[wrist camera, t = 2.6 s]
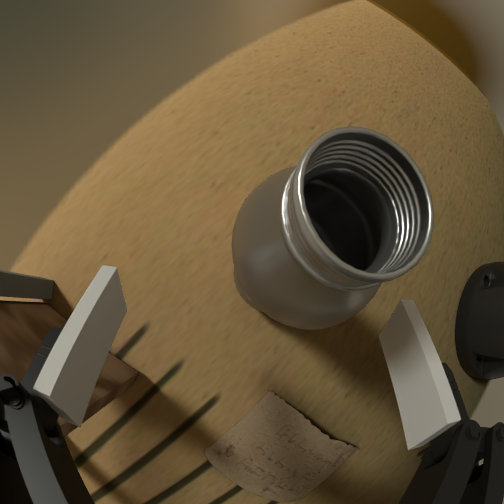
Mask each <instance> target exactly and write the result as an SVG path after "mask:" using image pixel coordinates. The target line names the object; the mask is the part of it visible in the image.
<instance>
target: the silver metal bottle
mask: <svg viewBox="0 0 504 504" xmlns="http://www.w3.org/2000/svg"><path fill="white" fill-rule="evenodd" d="M433 223H434V211H433V202H432V198H431V194H430V191H429V187H428V185H427V183H426V180H425V178H424V176H423V174H422V172H421V171H420V169H419V167H418V166H417V164H416V163H415V161H414V160H413V159H412V158H411V157H410V155H409V154H408V153H407V152H406V151H405V150H404V149H403V148H402V147H401V146H399V145H398V144H397V143H396V142H394V141H393V140H391V139H390V138H388V137H387V136H385V135H383V134H381V133H378V132H376V131H374V130H370V129H366V128H362V127H342V128H336V129H334V130H331V131H329V132H326V133H324V134H323V135H322V136H320V137H319V138H318V139H316V140H315V141H314V142H313V143H312V144H311V145H310V147H309V148H308V149H307V150H306V151H305V153H304V154H303V156H302V158H301V160H300V162H299V164H298V165H297V166H293V167H289V168H285V169H283V170H281V171H279V172H277V173H275V174H273V175H271V176H270V177H268V178H267V179H266V180H264V181H263V182H262V183H260V184H259V185H258V186H257V187H255V188H254V190H253V191H252V192H251V193H250V194H249V195H248V197H247V198H246V199H245V201H244V203H243V204H242V206H241V208H240V210H239V212H238V214H237V217H236V221H235V224H234V228H233V235H232V254H233V263H234V272H233V273H234V281H235V284H236V288H237V290H238V292H239V294H240V296H241V297H242V298H243V299H244V301H245V302H246V303H247V304H249V305H250V306H251V307H253V308H254V309H256V310H258V311H261V312H264V313H265V314H266V315H268V316H269V317H270V318H272V319H274V320H276V321H278V322H280V323H282V324H284V325H286V326H290V327H294V328H297V329H305V330H318V329H324V328H329V327H333V326H335V325H337V324H340V323H342V322H344V321H346V320H348V319H349V318H351V317H352V316H353V315H355V314H356V313H358V312H359V311H360V310H362V309H363V308H364V307H365V306H366V305H367V304H368V303H369V302H370V301H371V299H372V298H373V297H374V296H375V294H376V292H377V291H378V289H379V287H380V286H381V284H382V282H386V281H391V280H393V279H395V278H398V277H400V276H402V275H404V274H405V273H407V272H408V271H409V270H411V269H412V268H413V267H414V266H415V265H417V264H418V262H419V261H420V260H421V258H422V257H423V256H424V254H425V252H426V250H427V248H428V246H429V243H430V240H431V236H432V232H433Z"/></svg>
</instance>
